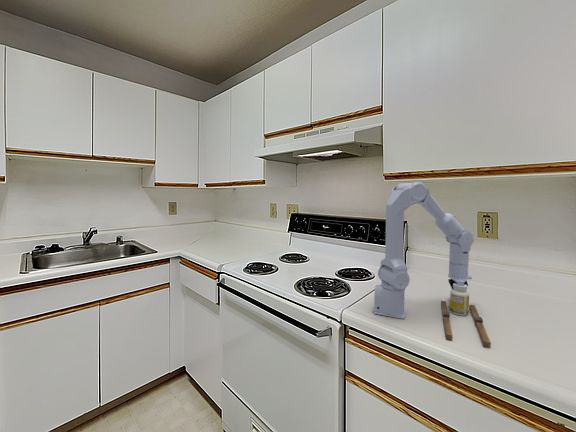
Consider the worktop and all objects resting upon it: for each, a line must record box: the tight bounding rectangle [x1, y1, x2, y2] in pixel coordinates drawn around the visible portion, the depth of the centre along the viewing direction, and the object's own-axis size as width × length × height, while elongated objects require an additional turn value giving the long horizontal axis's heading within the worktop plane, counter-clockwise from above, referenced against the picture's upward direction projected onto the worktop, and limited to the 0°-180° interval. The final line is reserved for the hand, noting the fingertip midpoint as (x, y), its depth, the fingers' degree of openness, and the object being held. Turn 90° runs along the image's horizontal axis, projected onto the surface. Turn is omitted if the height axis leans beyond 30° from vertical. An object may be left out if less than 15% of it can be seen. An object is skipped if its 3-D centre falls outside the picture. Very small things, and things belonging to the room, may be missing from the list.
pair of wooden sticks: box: [440, 300, 492, 349], centre depth 85 cm, size 10×26×2 cm, turn 154°
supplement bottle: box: [449, 283, 470, 317], centre depth 92 cm, size 5×5×10 cm
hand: (457, 300), depth 97 cm, fingers closed
